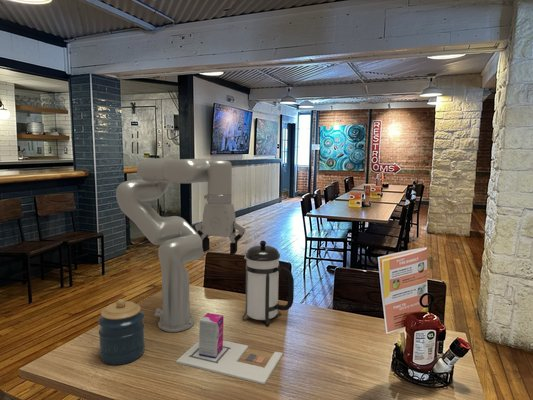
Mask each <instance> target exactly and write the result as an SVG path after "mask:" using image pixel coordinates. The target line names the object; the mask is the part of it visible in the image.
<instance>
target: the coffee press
mask: <svg viewBox="0 0 533 400" xmlns="http://www.w3.org/2000/svg"><path fill="white" fill-rule="evenodd" d="M243 258H244V260H246V263H245V311H244V314H243V315H242V318H241V319H243V321H247V320H249V318H251V319H254V320H258V321H263V322H264V326H265V327H268V326H270V325H271V324H270V319H273V318H275V317H276V316H277V317H280V316H281V315H282V314H281V312H280V311H288V310H289V309H291V308H292V306H293V304H294V295H295V294H294V293H295V291H294V290H295V282H294V281H295V279H294V276H293V272H291V270H290V269H288V268H286V267H283V266H282V267H281V266H280V258H281V254H280V252H279V250H278V249H277V248H276V247H274V246H272V245H271V246H270V245H267V242H266V241H265V240H261V241H260V242H259V245H254V246H252V247H250V248H248V249H247V252H245V256H244V257H243ZM280 273H282V274H285V275H286V277H287V280H288V286H287V287H288V290H287V291H288V293H287V294H288V298H287V304H285V305H284V304H280V303H279V281H280V279H279V275H280Z"/></svg>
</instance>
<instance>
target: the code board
mask: <svg viewBox="0 0 533 400" xmlns="http://www.w3.org/2000/svg"><path fill="white" fill-rule="evenodd" d="M249 347H250V346H249V345H247V344H241V343H237V342H232V341H228V340H224V339H223V349H222V351H221V352H220V353H219V354H218V356H217V357H216V358H210V357H205V356H200V355H199V340H197V342H195V343H194V344H193V345H191V347H190V348H189V349H187V351H186V352H184V353H183V354H182V355H181V356H180V357H179V358H178V359H177V360H176V362H175V363H176V364H180V365H184V366H188V367H192V368H196V369H200V370H202V371H203V370H204V371H206V372H207V371H208V372H212V373H216V374H220V375H224V376H227V377H232V378H236V379H239V380H242V381H243V380H244V381H249V382H252V383H256V384H260V385H264V386H265V385H266V383H268V380H269V378H270V376H271V375H272V373H273V371H274V370H275V368H276V366H277V365H278V363H279V362H280V360H281V358H282V357H283V352H280V351H274V352H273V353H272V356H271V357H270V359H269V360H268V361H267V363H266V364H265V366H264V367H262V366H258V365H255V364H250V363H247V362H246V363H245V362H241V361H239V360H240V359H241V358H242V356H243V355H244V354H246V353H245V352H246V351H248V349H249ZM256 356H257V354H254V353H250V354H248V356H247V357H246V359H245V361H249V362H253V360H254V359H255V358H256ZM265 359H266V356H263V355H259V356H258V357H257V359H256V360H255V361H254V362H255V363H259V364H262V363H263V361H264V360H265Z"/></svg>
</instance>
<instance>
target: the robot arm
mask: <svg viewBox="0 0 533 400" xmlns="http://www.w3.org/2000/svg"><path fill="white" fill-rule="evenodd" d="M232 173H233V167H232V162H231V161H229V160H223V159H221V160H220V159H211V158H184V159H183V158H180V159H179V158H178V159H176V158H173V157H167V158H166V157H161V158H159V157H158V158H146V159H143V160H141V161H140V162H139V163H138V164H137V166H136V174H137V176H138V177H139V178H140V179H130V180H126V181H123V182H121V183H120V184H119V185H117V187H116V190H115V196H116V203H117V204H118V207H119V209H120V210H121V211H122V212H123V214H125V216H127V218H129V219H130V220H131V221H132V222H133V223H134V225H136V226H137V228H138V229H139V231H141V233H142V234H143V235H144V236H145V237H146V239H148V241H149V242H150V243H151V244H153V245H156V246H158V245H160V246H159V247H158V259H159V263H160V264H159V265H160V270H161V271H160V272H161V298H162V299H161V301H162V302H161V303H162V308H159V307H158V308H156V309H155V313H154V317H156V318H157V317H158V318H159V320H158V323H157V324H158V328H159V329H160V330H162V331H165V332H168V333H169V332H170V333H176V332H179V333H180V332H183V331H186V330H188V329H190V328H192V327H193V326H194V324H195V318H194V317H193V316H192V315H190V314H191V312H190V311H191V310H190V309H191V308H190V305H191V303H190V295H191V294H190V274H189V271H188V270H187V268H186V267H185V264H187V263H189V262H190V263H191V262H192V261H195V260H196V261H197V260H199V259H200V258H202V257H203V256H204V254H205V253H206V252H207V251H210V244H211V243H210V237H211V236H212V237H220V238H221V237H222V238H228V239H229V240H230V241H231V242H230V243H229V255H230V256H234V255H236V254H237V252H238V242H239V240H240V239H242V238H243V236H244V234H245V232H246V229H245V228H244V227H242V226H241V225H240V224H238V223H237V221H236V220H237V219H236V212H235V210H236V209H235V207H234V204H233V203H232V198H233V197H232V190H233V189H232V185H233V184H232V181H233V180H232V179H233V177H232V175H233V174H232ZM196 183H197V184H198V183H206V185H207V193H206V194H205V195H204V197H203V199H204V200H206V203H204V208H203V212H202V221H201V222H198V223H197V224H195V225H194V227H195V229H194V228H193V227H192V226H191V225H190V224H189V222H188V221H186V219H184V218H183V217H181V216H177V215H172V216H166V217H164V216H161V215H160V214H159V213H158V212H157V211H156V210H155V209H154V208H153V207H152V206H151V205H148V204H146V203H144V202H149V201H156V200H159V199H160V198H162V196H163V195H164V193H166V192H167V189H168V188H169V187H170V186H171V185H172V184H196ZM237 231H238V233H237V234H236V232H237ZM209 236H210V237H209Z"/></svg>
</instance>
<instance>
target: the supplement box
mask: <svg viewBox="0 0 533 400" xmlns="http://www.w3.org/2000/svg"><path fill="white" fill-rule="evenodd" d="M224 318H225V317H224V315H222V314H216V313H212V312H207V313H206V314H204V316H203V317H201V318H200V319H199V334H198V335H199V337H198V339H199V340H198V341H199V355H200V356H205V357H210V358H216V357H217V356H218V354H219V353H220V352H221V351H222V349H223V340H224Z"/></svg>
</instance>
